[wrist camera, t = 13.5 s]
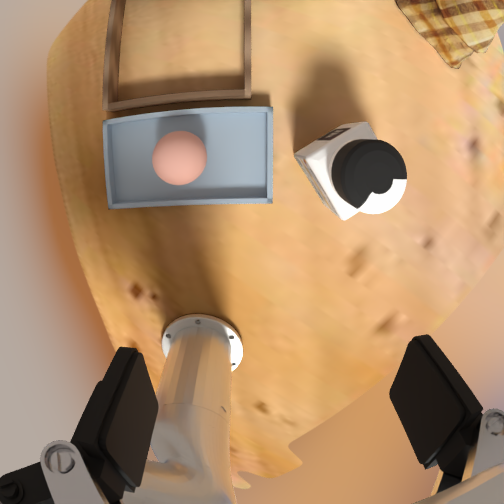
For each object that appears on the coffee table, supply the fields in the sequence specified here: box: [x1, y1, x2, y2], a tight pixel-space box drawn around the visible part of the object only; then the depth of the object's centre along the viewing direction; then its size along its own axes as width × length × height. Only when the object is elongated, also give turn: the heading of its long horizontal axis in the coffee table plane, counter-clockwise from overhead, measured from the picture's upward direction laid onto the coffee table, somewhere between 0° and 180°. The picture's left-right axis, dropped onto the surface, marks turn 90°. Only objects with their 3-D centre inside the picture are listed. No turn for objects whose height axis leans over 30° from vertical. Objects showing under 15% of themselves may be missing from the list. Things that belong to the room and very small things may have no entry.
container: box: [294, 121, 407, 220], centre depth 28 cm, size 8×8×13 cm
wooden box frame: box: [103, 0, 251, 112], centre depth 26 cm, size 18×17×3 cm
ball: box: [152, 131, 207, 185], centre depth 29 cm, size 6×6×6 cm
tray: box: [103, 107, 273, 209], centre depth 32 cm, size 11×20×2 cm, turn 90°
